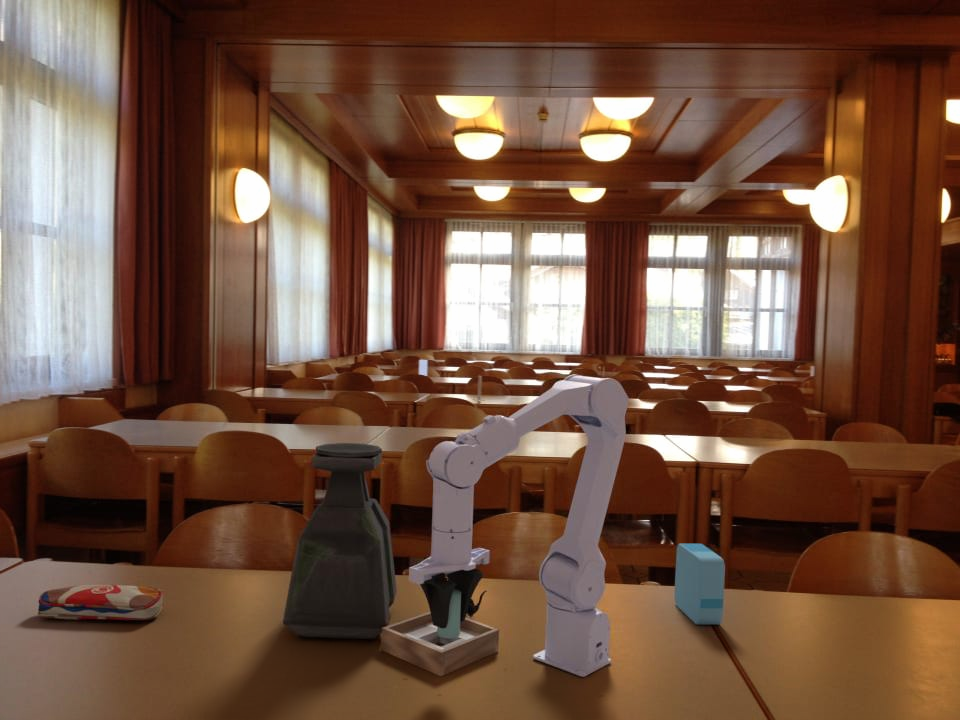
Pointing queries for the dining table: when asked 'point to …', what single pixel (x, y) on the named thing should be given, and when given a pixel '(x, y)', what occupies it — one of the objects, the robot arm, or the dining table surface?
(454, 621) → the peg
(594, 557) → the robot arm
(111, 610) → the pencil case
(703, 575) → the data package
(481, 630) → the box
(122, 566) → the dining table surface
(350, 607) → the dark faceted flask
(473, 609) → the creature
